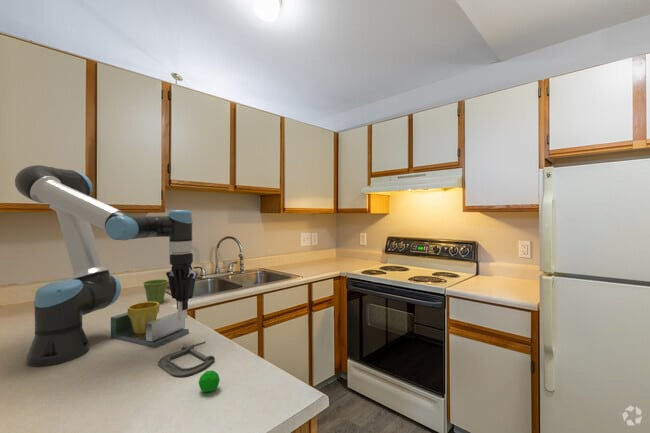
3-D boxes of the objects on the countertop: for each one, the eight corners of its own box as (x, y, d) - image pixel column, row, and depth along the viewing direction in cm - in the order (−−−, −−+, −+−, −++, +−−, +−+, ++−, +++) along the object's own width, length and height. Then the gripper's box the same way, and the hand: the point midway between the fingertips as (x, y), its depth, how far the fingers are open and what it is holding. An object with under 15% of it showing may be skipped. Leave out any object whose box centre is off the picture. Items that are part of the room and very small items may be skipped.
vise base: (156, 347, 104) (156, 325, 104) (110, 337, 113) (110, 317, 113) (188, 333, 116) (188, 313, 116) (145, 325, 126) (145, 307, 126)
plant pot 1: (139, 306, 152) (139, 284, 152) (147, 300, 163) (147, 279, 163) (164, 305, 154) (164, 283, 154) (171, 299, 166) (171, 278, 166)
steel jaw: (152, 341, 104) (151, 324, 104) (145, 340, 105) (145, 323, 106) (184, 327, 117) (184, 312, 117) (179, 326, 118) (179, 311, 118)
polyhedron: (197, 389, 78) (196, 370, 78) (216, 383, 81) (216, 365, 81) (201, 398, 74) (201, 379, 74) (221, 392, 77) (221, 373, 77)
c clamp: (151, 359, 96) (151, 351, 96) (204, 343, 108) (204, 335, 108) (173, 384, 82) (173, 374, 82) (232, 362, 94) (232, 353, 94)
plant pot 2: (144, 337, 109) (144, 309, 109) (120, 334, 111) (120, 308, 111) (165, 326, 119) (165, 302, 119) (143, 325, 121) (143, 300, 122)
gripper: (203, 252, 110) (204, 317, 109) (176, 251, 115) (177, 313, 114) (186, 254, 103) (187, 324, 102) (159, 253, 108) (160, 319, 108)
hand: (182, 318), depth 108 cm, fingers closed
